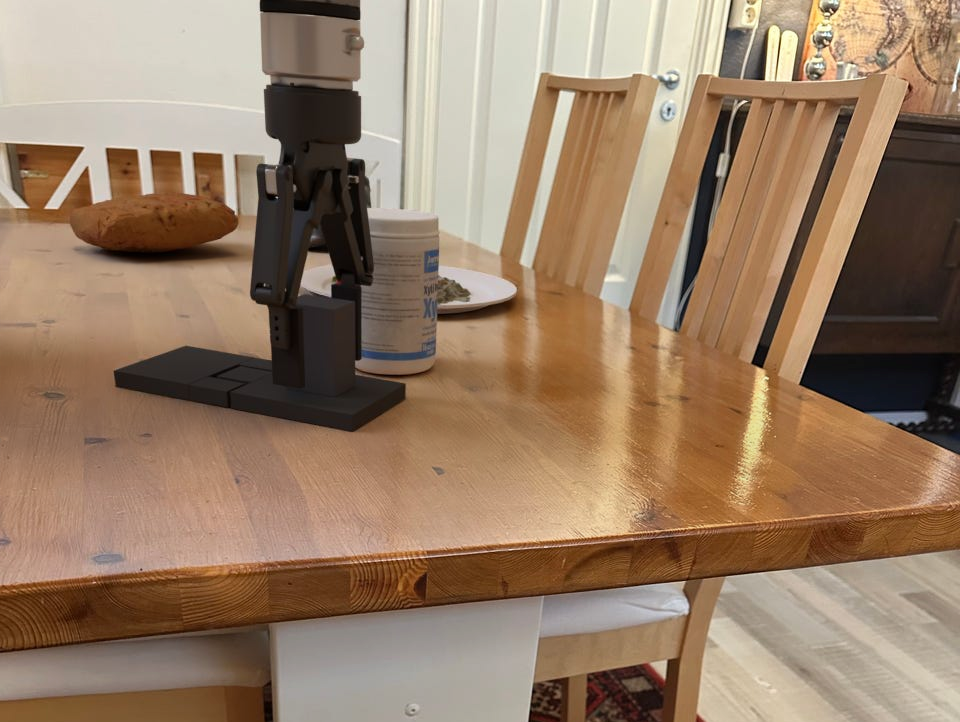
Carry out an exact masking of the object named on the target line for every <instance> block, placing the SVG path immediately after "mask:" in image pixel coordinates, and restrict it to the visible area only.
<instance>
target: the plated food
mask: <svg viewBox="0 0 960 722" xmlns="http://www.w3.org/2000/svg"><path fill="white" fill-rule="evenodd" d="M335 283H336V284H341V282H338V281H337V279H336V276H335V272H334V269H333V266H332V264H325V265H320V266H316V267H312V268H309V269H306V270H304V271H303V276H302V280H301V285H300V287H302V288H304V289H306V290H308V291H309V292H312V293H315V294H318V295H319V296H323V297H328V298H331V285H332V284H335ZM517 292H518V288H517V287H516V285H515V284H514V283H512V282H511V281H509V280H507V279H506V278H505V279H504V278H502V277H500V276H496V275H493V274H490V273H486V272H481V271H476V270H471V269H467V268H460V267H453V266H446V265H439V271H438V301H437V315H443V314H445V315H446V314H458V313H465V312H472V311H476V310H480V309H484V308H486V307H488V306H491V305H496V304H501V303H504V302H507V301H510V300H511V299H513V298H514V297H516V295H517Z"/></svg>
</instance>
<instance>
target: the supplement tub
mask: <svg viewBox="0 0 960 722" xmlns="http://www.w3.org/2000/svg"><path fill="white" fill-rule="evenodd" d="M367 211H368V220H369V228H370V236H371V245H372V253H373V261H374V272H373V273H372V275H373V282H372V285H371V286H364V285H361V287H362V359H361V360H359V361H355V369H356V370H358V371H361V372H365V373H369V374H375V375H386V376H387V375H390V376H395V375H396V376H398V375H399V376H400V375H413V374H418V373H422V372H426V371H428V370H429V369H431V368H432V367H433V366H434V364H435V362H436V359H437V358H436V357H437V356H436V355H437V329H438V328H437V327H438V314H437V301H438V271H439V266H440V230H439V216H438V215H437V214H435V213H431V212H427V211H420V210H412V209H404V208H403V209H401V208H386V207H372V208H367ZM361 260H363V258H362V257H361Z"/></svg>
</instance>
